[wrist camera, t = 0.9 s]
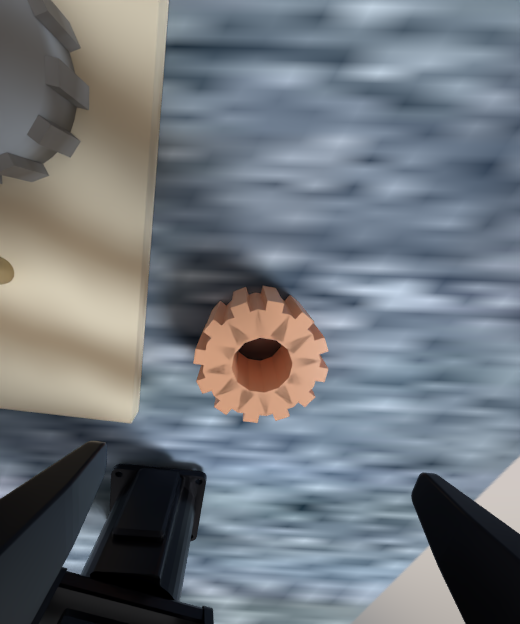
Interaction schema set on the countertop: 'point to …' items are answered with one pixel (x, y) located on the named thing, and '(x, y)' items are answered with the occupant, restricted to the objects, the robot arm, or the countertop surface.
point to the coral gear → (254, 373)
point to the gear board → (77, 201)
